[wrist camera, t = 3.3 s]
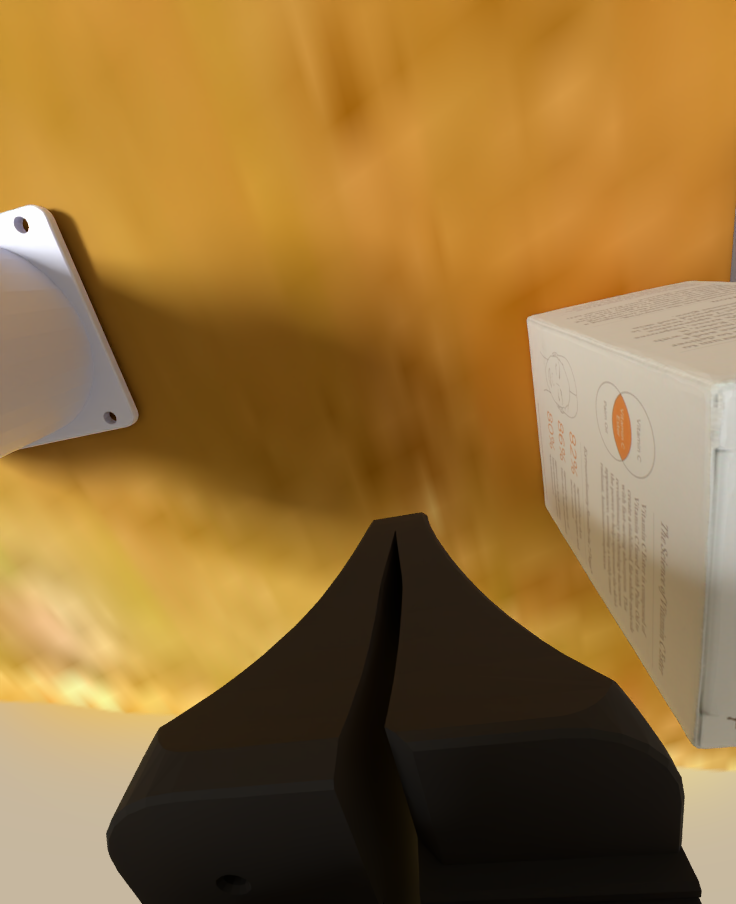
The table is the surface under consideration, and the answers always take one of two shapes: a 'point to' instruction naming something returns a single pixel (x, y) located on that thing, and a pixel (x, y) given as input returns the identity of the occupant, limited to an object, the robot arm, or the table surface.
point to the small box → (651, 479)
